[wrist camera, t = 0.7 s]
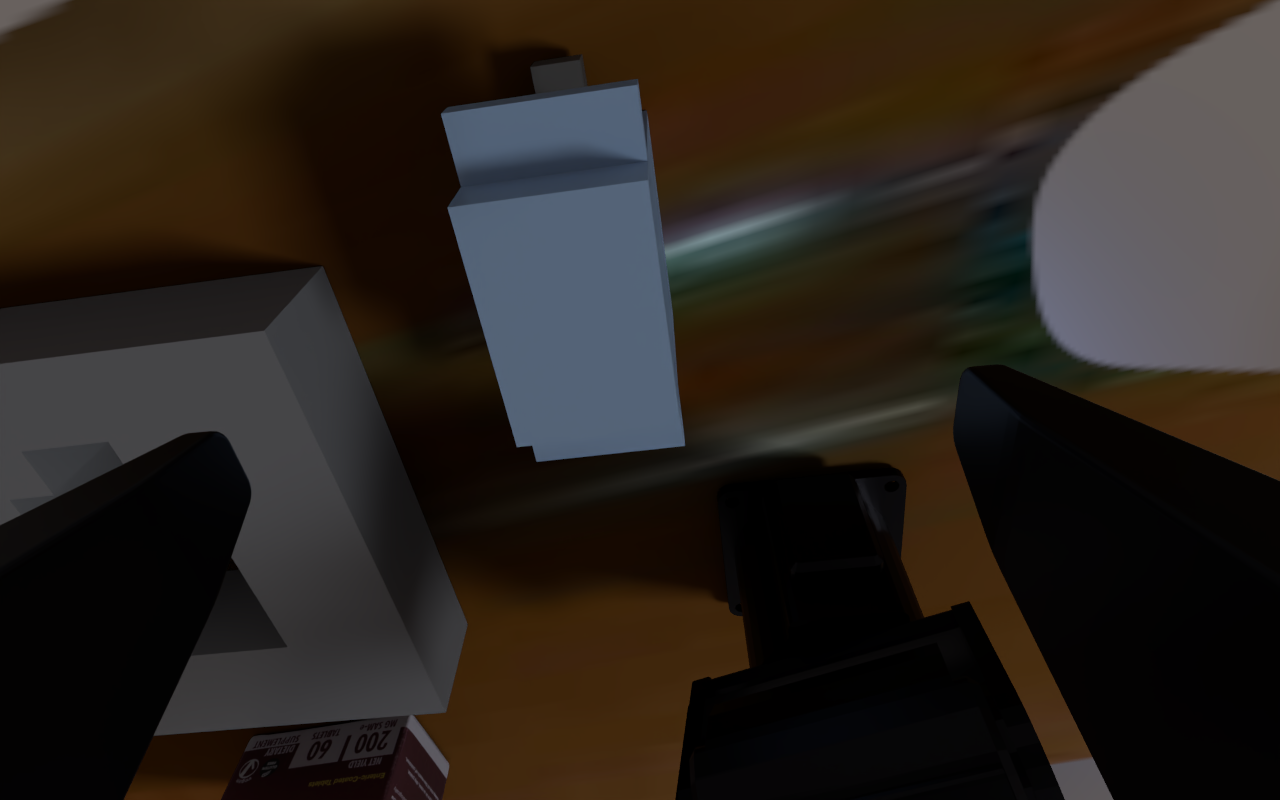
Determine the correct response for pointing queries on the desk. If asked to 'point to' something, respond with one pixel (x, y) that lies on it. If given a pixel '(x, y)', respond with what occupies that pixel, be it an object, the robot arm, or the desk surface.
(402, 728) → the supplement box
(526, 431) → the block
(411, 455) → the desk surface
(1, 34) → the desk surface
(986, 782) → the robot arm
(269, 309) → the chassis
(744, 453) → the desk surface
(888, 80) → the desk surface
